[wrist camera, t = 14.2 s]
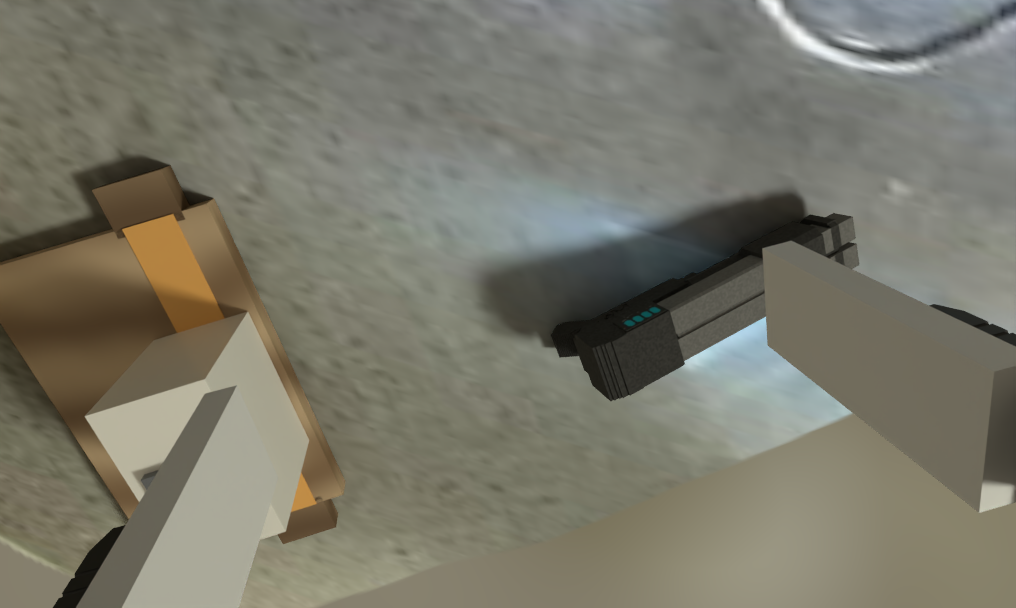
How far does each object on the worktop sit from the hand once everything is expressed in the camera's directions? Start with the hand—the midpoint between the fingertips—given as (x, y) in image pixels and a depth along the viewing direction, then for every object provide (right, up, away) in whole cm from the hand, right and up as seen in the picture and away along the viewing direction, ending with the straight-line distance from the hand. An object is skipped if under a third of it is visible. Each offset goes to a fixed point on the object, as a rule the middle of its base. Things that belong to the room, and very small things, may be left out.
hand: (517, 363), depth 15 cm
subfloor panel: (-22, -4, +26) cm, 34 cm away
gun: (+13, +3, +30) cm, 32 cm away
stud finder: (-18, -4, +25) cm, 31 cm away
